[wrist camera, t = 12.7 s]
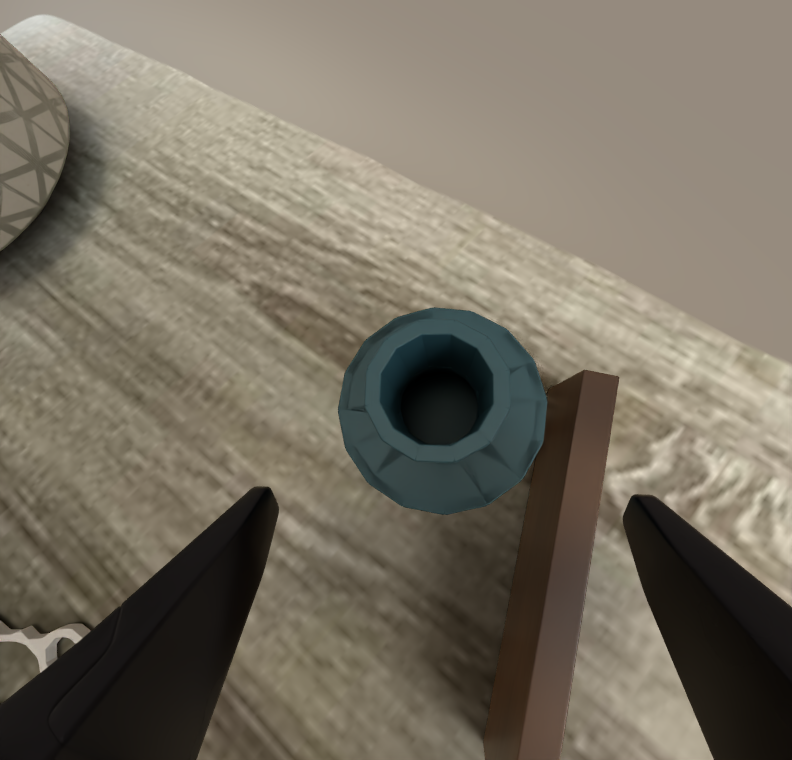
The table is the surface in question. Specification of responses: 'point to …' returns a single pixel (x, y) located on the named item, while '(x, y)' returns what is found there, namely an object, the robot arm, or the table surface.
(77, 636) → the scissors
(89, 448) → the table surface
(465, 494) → the teal faceted vase
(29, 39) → the table surface
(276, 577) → the table surface
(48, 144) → the planter
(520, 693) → the wall
